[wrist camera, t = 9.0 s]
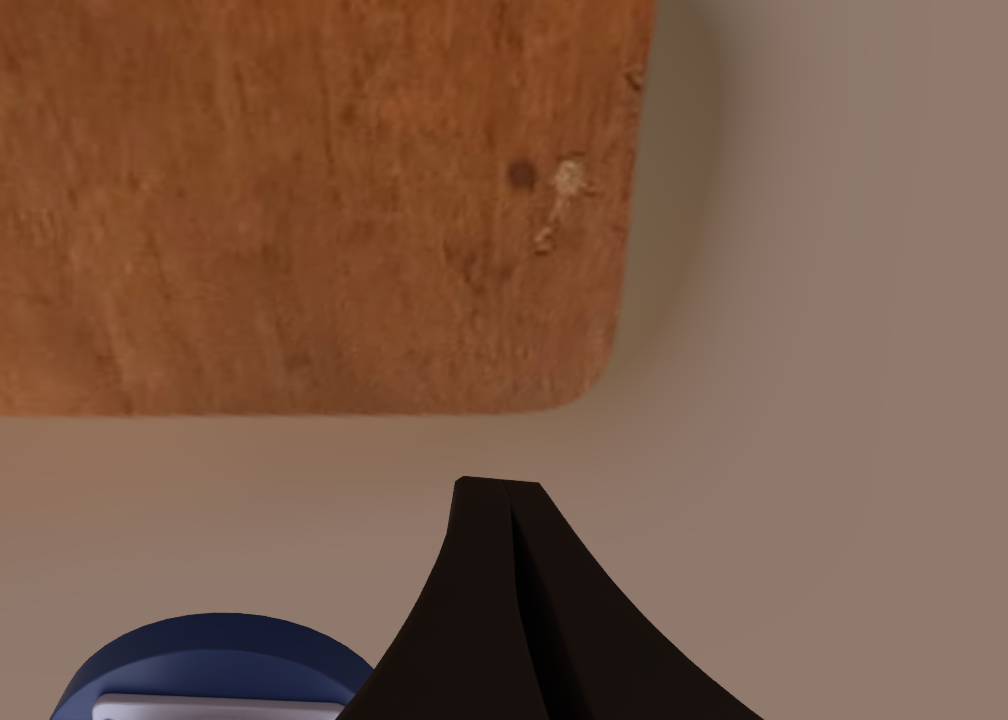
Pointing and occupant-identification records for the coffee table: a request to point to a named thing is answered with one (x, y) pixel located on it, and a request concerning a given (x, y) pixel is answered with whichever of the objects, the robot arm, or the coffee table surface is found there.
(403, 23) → the coffee table surface
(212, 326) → the coffee table surface
